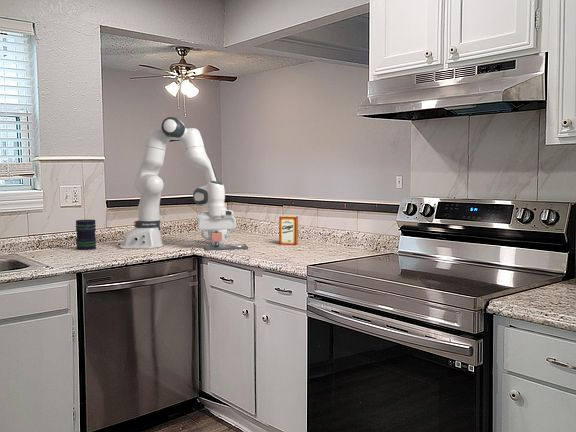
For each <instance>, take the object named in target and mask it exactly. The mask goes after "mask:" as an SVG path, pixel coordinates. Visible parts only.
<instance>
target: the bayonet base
mask: <svg viewBox="0 0 576 432" xmlns="http://www.w3.org/2000/svg"><path fill="white" fill-rule="evenodd" d="M204 249H205V251H233V250H234V251H236V250H235V249H244V250H249V246H248V245H247V244H246V243H243V244H242V243H236V244H235V243H233V244H232V243H231V244H221V243H219V241H214V243H213V244H204Z"/></svg>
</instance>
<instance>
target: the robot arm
mask: <svg viewBox="0 0 576 432" xmlns="http://www.w3.org/2000/svg"><path fill="white" fill-rule="evenodd" d="M179 141H180V142H181V145H182V148H183V153H184V158H185V161H187V163H188V164H190V165H191V166H193V167H194V168H195V167H196V168H197V169H199V170H200V171H201V172H202V173H203V175H204V179H205V181H206V185H203V186H200V187H197V188H196V189H194V190H193V194H192V199H193V202H194V203H195V204H196V205H199V206H207V207H208V209H207V210H208V211H206V212H202V211H201V212H199V213H197V214H196V220H197V230H199V231H201V230H203V233H204V234H205V235H206V238H210V235H208V230H221V229H227V233H226V234H225V238H226V239H228V235H229V233H230V232H231V231H230V230H235V229H236V228H237V220H236V217H235V216H234V213H235V212H234V211H233V210H232V209H228V208H226V204H225V200H226V190H225V185H224V183H223V182H221V181H218V178H217V177H218V176H217V175H216V172H215V168H214V166H213V163H212V161H211V160H210V158H209V156H208V155H207V152H206V148H205V144H204V139H203V138H202V134H201V132H200V130H199V129H197V128H195V127H188V128H187V126H186V125H185V124H184V122H183V121H182V120H180V119H178V118H177V117H174V116H168V117H166V118H165V119H163V120H162V122H161V127H160V128H159V127H156V128H152V129H150V130H149V132H148V135H147V138H146V140H145V145H144V149H143V153H142V154H143V155H142V159H141V163H140V165H139V169H138V170H137V171H138V172H137V174H136V177H135V179H134V181H133V186H134V189H135V190H136V191H137V192H138V193H140V196H139V197H140V199H139V204H138V205H137V211H138V212H137V213H138V214H137V215H138V217H137V219H138V220H135V221H134V222H133V224H134V228H133V229H131V230H130V231H129V232H128V233H126V235H125V236H124V238H123V243H122V244H121V243H120V245H119V248H120V249H126V250H127V249H129V250H130V249H137V250H139V249H141V250H142V249H144V250H145V249H146V250H148V249H154V248H155V249H156V248H160V247H163V246H164V244H163V242H162V241H163V240H162V236H161V227H162V225H161V220H160V219H161V218H160V204H161V197H162V191H163V190H164V182H163V179H162V178H161V177H159V174H160V171H161V169H162V167H163V166H164V162H165V155H166V150H167V146H168V143H169V142H171V143H172V142H179Z"/></svg>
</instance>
